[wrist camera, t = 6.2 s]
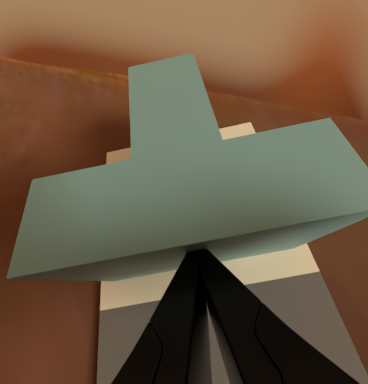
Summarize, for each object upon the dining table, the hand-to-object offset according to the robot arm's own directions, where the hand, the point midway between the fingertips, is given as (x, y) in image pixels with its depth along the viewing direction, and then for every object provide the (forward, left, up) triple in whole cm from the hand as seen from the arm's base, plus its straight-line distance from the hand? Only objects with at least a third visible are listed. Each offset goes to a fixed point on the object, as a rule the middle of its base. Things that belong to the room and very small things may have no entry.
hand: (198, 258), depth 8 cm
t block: (+4, +5, -6) cm, 8 cm away
